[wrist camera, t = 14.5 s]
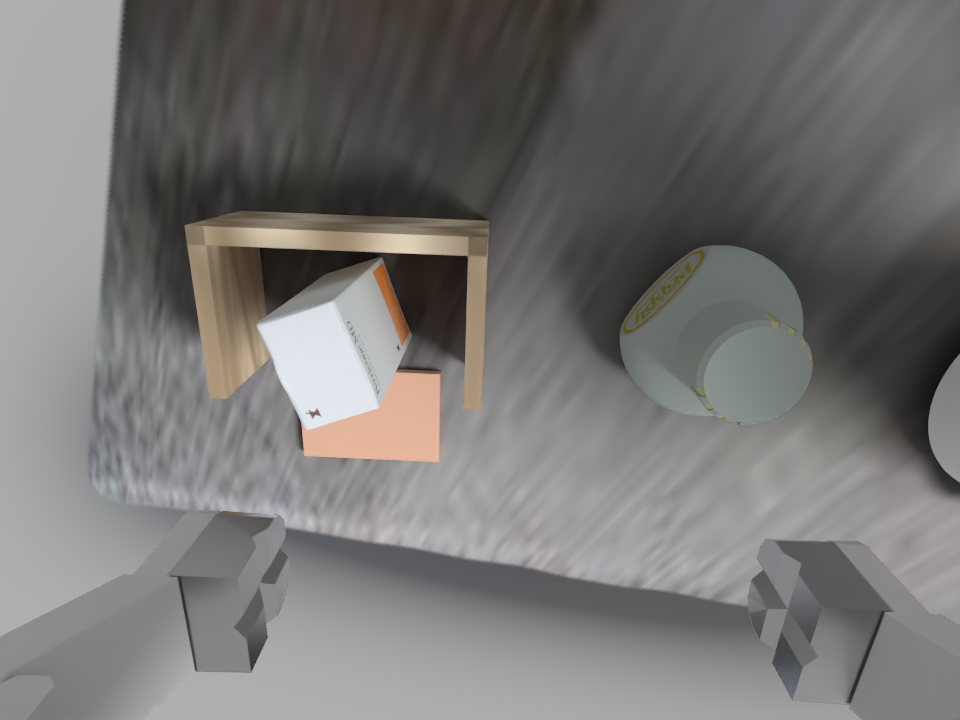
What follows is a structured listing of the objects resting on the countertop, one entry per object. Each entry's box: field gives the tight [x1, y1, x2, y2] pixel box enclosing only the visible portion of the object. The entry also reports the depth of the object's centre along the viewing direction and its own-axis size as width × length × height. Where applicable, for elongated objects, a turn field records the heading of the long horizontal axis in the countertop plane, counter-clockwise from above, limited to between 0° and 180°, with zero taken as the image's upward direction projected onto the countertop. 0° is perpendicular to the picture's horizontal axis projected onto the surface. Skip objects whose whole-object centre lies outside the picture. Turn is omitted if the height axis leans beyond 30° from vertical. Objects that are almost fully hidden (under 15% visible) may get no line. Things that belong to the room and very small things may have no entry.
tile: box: [301, 369, 441, 462], centre depth 41 cm, size 10×7×1 cm
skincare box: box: [256, 257, 412, 431], centre depth 33 cm, size 6×4×12 cm
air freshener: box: [620, 245, 813, 425], centre depth 34 cm, size 11×8×10 cm
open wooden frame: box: [184, 211, 489, 410], centre depth 35 cm, size 16×10×7 cm, turn 88°
